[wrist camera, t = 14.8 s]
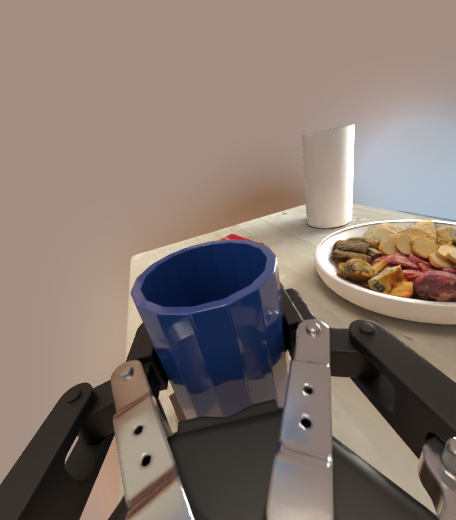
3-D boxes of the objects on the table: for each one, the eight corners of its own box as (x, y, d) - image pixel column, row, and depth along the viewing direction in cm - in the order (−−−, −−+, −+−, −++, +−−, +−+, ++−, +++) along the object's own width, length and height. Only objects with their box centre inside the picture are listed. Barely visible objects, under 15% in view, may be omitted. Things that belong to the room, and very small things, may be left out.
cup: (225, 509, 11) (152, 344, 6) (180, 404, 15) (121, 272, 11) (318, 422, 13) (310, 260, 9) (253, 355, 18) (227, 231, 14)
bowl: (289, 262, 54) (286, 230, 51) (408, 230, 56) (412, 198, 53) (398, 368, 27) (407, 313, 24) (617, 298, 29) (653, 240, 26)
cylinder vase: (352, 213, 74) (354, 124, 63) (351, 228, 64) (354, 125, 54) (310, 216, 80) (306, 134, 69) (303, 229, 70) (298, 136, 59)
